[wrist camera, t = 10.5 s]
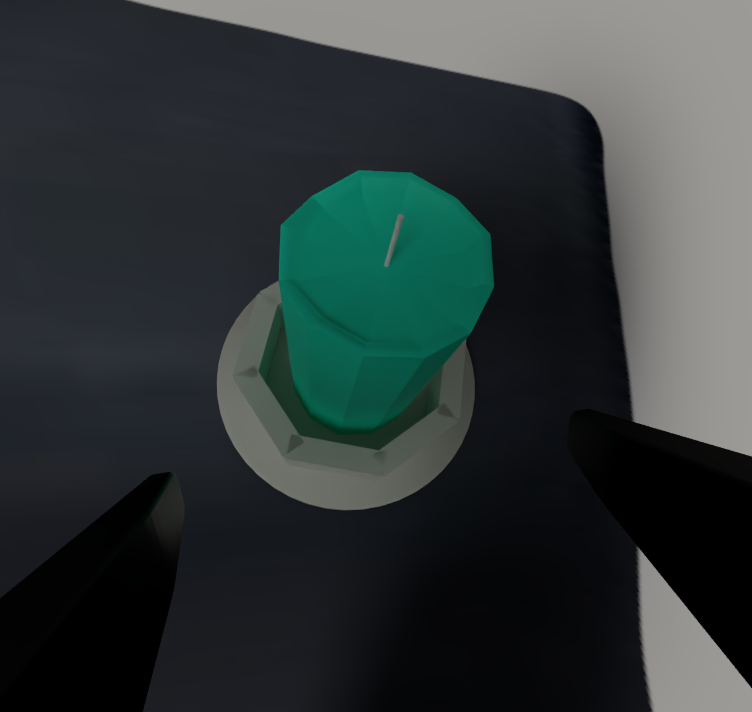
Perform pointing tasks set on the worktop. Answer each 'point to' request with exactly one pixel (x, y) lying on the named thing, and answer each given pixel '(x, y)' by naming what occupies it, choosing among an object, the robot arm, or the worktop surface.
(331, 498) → the candle dish
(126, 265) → the worktop surface
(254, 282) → the worktop surface
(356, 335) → the candle
